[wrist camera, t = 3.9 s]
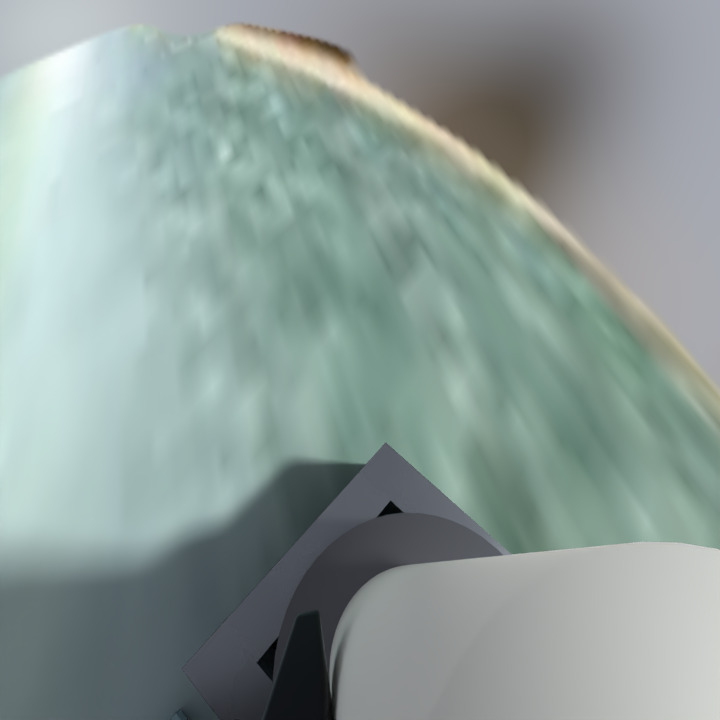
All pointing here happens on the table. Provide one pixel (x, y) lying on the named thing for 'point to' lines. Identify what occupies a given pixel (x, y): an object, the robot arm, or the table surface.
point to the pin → (511, 627)
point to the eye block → (274, 592)
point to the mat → (179, 716)
